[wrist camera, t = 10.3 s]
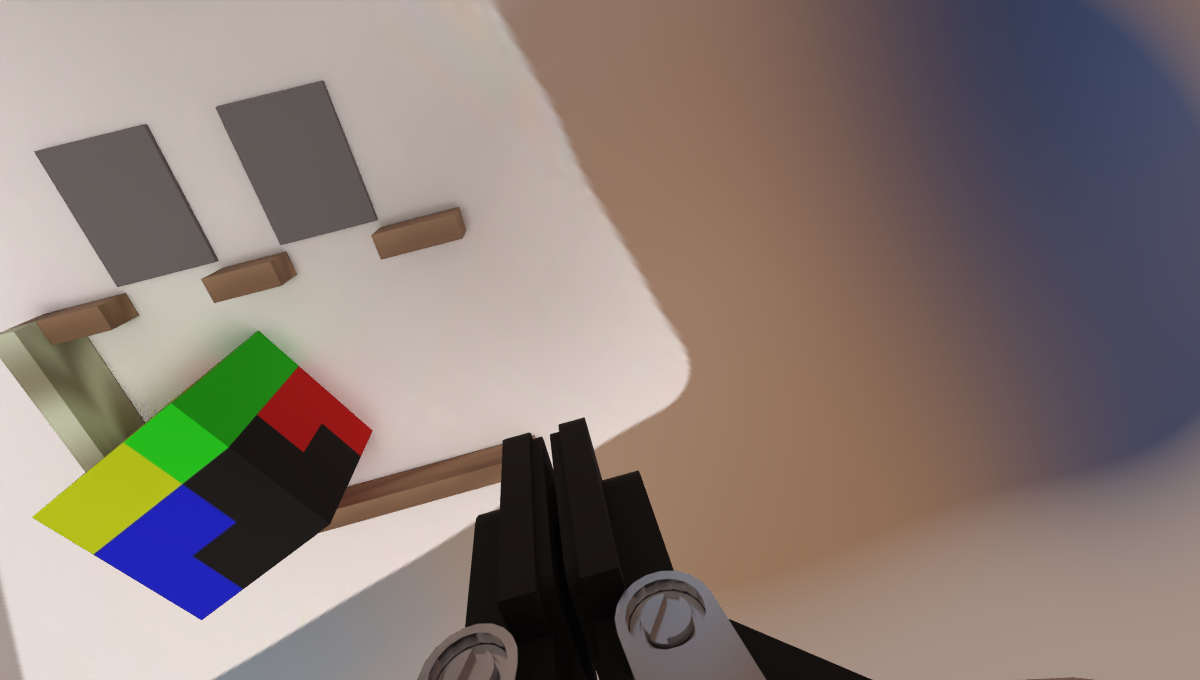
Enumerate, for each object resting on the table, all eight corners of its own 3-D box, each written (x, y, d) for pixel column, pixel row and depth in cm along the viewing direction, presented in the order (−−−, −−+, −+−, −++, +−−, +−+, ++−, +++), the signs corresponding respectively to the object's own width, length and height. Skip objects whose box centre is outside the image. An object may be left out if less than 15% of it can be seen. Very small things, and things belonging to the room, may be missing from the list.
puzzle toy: (271, 507, 41) (201, 620, 32) (151, 418, 37) (31, 517, 28) (372, 430, 40) (330, 524, 31) (258, 330, 36) (171, 403, 27)
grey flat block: (38, 151, 31) (34, 151, 30) (146, 124, 31) (143, 124, 30) (120, 285, 34) (117, 287, 33) (218, 260, 34) (215, 261, 34)
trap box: (43, 314, 34) (-15, 338, 30) (458, 207, 35) (451, 218, 31) (202, 545, 41) (171, 587, 38) (539, 451, 42) (541, 483, 39)
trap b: (217, 107, 31) (215, 107, 31) (323, 81, 31) (321, 80, 31) (282, 244, 34) (280, 245, 34) (377, 219, 34) (376, 220, 34)
